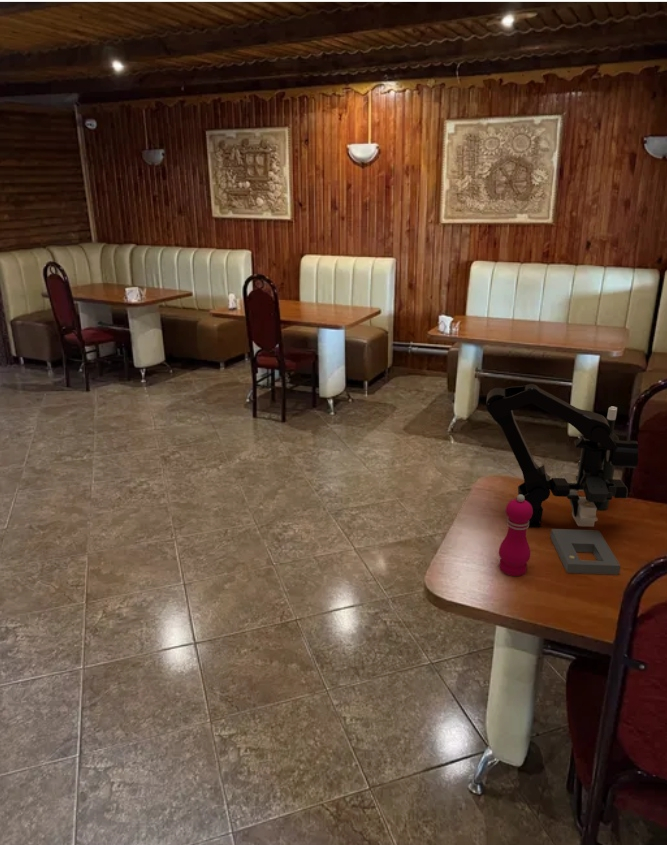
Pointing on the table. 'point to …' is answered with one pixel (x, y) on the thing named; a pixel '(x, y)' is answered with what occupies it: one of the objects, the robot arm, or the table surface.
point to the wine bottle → (607, 465)
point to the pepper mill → (516, 538)
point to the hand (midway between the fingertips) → (583, 516)
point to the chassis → (584, 541)
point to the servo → (585, 512)
